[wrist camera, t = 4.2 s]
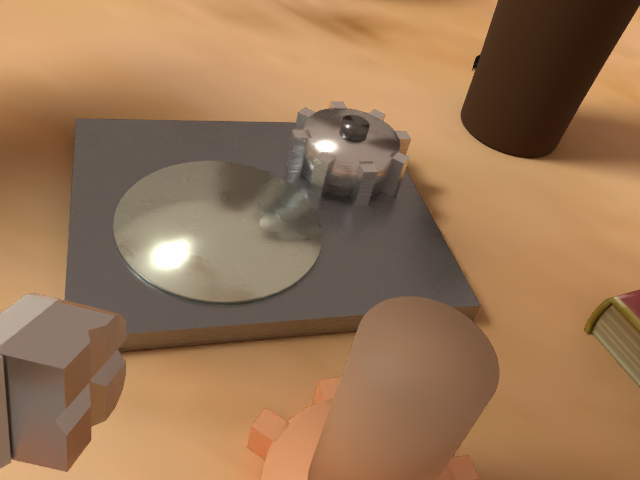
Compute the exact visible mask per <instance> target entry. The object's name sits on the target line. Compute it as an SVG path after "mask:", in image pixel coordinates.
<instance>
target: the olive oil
mask: <svg viewBox="0 0 640 480" xmlns="http://www.w3.org/2000/svg"><path fill="white" fill-rule="evenodd" d="M639 6H640V0H498V3H497V6H496V9H495V12H494V15H493V18H492V21H491V24H490V27H489V30H488V33H487V36H486V39H485V43H484V46H483V49H482V52H481V55H479V56H477V57H476V59H475V62H474V65H473V68H474V69H475V68H476V69H475V73H474V76H473V79H472V82H471V84H470V87H469V90H468V93H467V96H466V99H465V102H464V104H463V107H462V111H461V120H462V122H463V124H464V126H465V128H466V129H467V130H468V131H469V132H470V133H471V134H472V135H473V136H474V137H475V138H477V139H478V140H479V141H481V142H482V143H484V144H486V145H488V146H490V147H492V148H494V149H496V150H499V151H501V152H504V153H507V154H511V155H516V156H521V157H539V156H544V155H547V154H549V153H551V152H552V151H553V150H554V149H555V148H556V146H557V145H558V143H559V141H560V140H561V138H562V136H563V134H564V133H565V131H566V129H567V127H568V126H569V124H570V122H571V120H572V118H573V117H574V115H575V113H576V111H577V110H578V108H579V106H580V104H581V103H582V101H583V99H584V97H585V96H586V94H587V92H588V91H589V89H590V87H591V86H592V84H593V82H594V81H595V79H596V77H597V76H598V74H599V72H600V70H601V69H602V67H603V65H604V64H605V62H606V60H607V59H608V57H609V55H610V54H611V52H612V50H613V49H614V47H615V45H616V44H617V42H618V40H619V39H620V37H621V35H622V34H623V32H624V30H625V29H626V27H627V25H628V24H629V22H630V21H631V19H632V17H633V16H634V14H635V12H636V11H637V9H638V7H639ZM472 71H473V69H472Z"/></svg>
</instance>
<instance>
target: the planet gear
mask: <svg viewBox="0 0 640 480" xmlns="http://www.w3.org/2000/svg"><path fill="white" fill-rule="evenodd" d="M498 381H499V364H498V359H497V356H496V353H495V351H494V349H493V346H492V345H491V343H490V341H489V340H488V338H487V337H486V335H485V334H484V333H483V331H482V330H481V329H480V328H479V327H478V326H477V325H476V324H475V323H474V322H473V321H472V320H470V319H469V318H468V317H467V316H465V315H464V314H463V313H461V312H459V311H458V310H456V309H454V308H452V307H450V306H448V305H446V304H444V303H441V302H439V301H436V300H432V299H428V298H423V297H415V296H403V297H395V298H391V299H388V300H385V301H383V302H380V303H379V304H377V305H375V306H374V307H372V308H371V309H370V310H369V311H368V312H367V313H366V314H365V315H364V317H363V318H362V320H361V322H360V324H359V326H358V329H357V332H356V335H355V338H354V341H353V343H352V346H351V349H350V352H349V355H348V358H347V361H346V363H345V366H344V369H343V372H342V375H341V377H337V378H328V379H319V382H318V386H317V389H316V392H315V395H314V399H313V404H314V405H312V406H309V407H307V408H305V409H304V410H302V411H300V412H299V413H297V414H296V415H295V416H293V417H292V418H291V419H290V420H289V421H288V422H287V421H285V420H284V419H282V418H281V417H279V416H278V415H276V414H275V413H273V412H271V411H270V410H268V409H267V408H265V409H264V411H263V412H262V413H261V414H260V416H259V417H258V418H257V419H256V421H255V422H254V423H253V424H252V426H251V430H250V435H249V440H248V445H247V447H248V448H249V449H251V450H252V451H254V452H255V453H257V454H258V455H259V456H261V457H262V458H264V459H265V464H264V468H263V472H262V476H261V480H479V477H478V475H477V472H476V470H475V468H474V465H473V463H472V461H471V459H470V456H469V455H466V456H459V457H453V455H454V454H455V452H456V451H457V449H458V448H459V446H460V445H461V443H462V442H463V440H464V439H465V437H466V436H467V434H468V433H469V431H470V430H471V428H472V427H473V425H474V424H475V422H476V420H477V419H478V417H479V416H480V414H481V413H482V411H483V410H484V408H485V407H486V405H487V404H488V402H489V401H490V399H491V398H492V396H493V394H494V393H495V391H496V388H497V385H498ZM452 457H453V458H452Z"/></svg>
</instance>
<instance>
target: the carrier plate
mask: <svg viewBox="0 0 640 480" xmlns="http://www.w3.org/2000/svg"><path fill="white" fill-rule="evenodd" d="M384 118H385V114H384V113H381V112H379V111H377V110H375V109H374V110H372V111H371V112H370V113H369V114H368V113H365V112H362V111H358V110H353V109H347V108H346V106H345V104H344V102H332V101H331V103H330V108H329V109H324V110H321V111H318V112H314V111H312V110H310V109H308V108H306V107H305V108H304V109H302V110H301V111H299V112H298V115H297V121H296V123H288V122H235V121H181V120H127V119H76V127H75V143H74V159H73V175H72V191H71V207H70V224H69V240H68V256H67V272H66V288H65V300H66V301H70V302H74V303H78V304H82V305H86V306H90V307H94V308H98V309H102V310H106V311H110V312H114V313H118V314H122V316H123V317H124V318H125V320H126V340H125V341H124V342H123V343H122V344H121V346H120V347H119V348H118V351H119V352H122V351H134V350H145V349H157V348H168V347H180V346H191V345H202V344H214V343H225V342H237V341H248V340H260V339H271V338H282V337H294V336H305V335H317V334H328V333H340V332H351V331H357V329H358V326H359V324H360V322H361V320H362V318H363V317H364V315H365V314H366V313H367V312H368V311H369V310H370V309H371V308H372V307H374V306H375V305H377V304H379V303H380V302H383V301H385V300H388V299H391V298H395V297H403V296H415V297H423V298H428V299H432V300H436V301H439V302H441V303H444V304H446V305H448V306H450V307H452V308H454V309H456V310H458V311H459V312H461V313H463V314H464V315H465V316H467V317H468V318H469V319H470V320H473V318H474V317H475V315H476V313H477V311H478V309H479V307H480V304H479V302H478V300H477V298H476V296H475V295H474V293H473V291H472V289H471V287H470V285H469V284H468V282H467V280H466V278H465V276H464V274H463V273H462V271H461V269H460V267H459V265H458V263H457V262H456V260H455V258H454V256H453V254H452V252H451V251H450V249H449V247H448V245H447V243H446V241H445V240H444V238H443V236H442V234H441V232H440V230H439V229H438V227H437V225H436V223H435V221H434V220H433V218H432V216H431V214H430V212H429V210H428V209H427V207H426V205H425V203H424V201H423V199H422V198H421V196H420V194H419V192H418V190H417V188H416V187H415V185H414V183H413V181H412V179H411V177H410V176H409V174H408V172H407V170H406V167H407V164H408V162H409V159H410V157H408V156H406V153H407V150H408V147H409V144H410V141H411V138H410V137H409V135H408V133H407V131H394V130H393V128H392V127H390V126H389V125H388V124H387V123H385V122H384Z"/></svg>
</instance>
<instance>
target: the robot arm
mask: <svg viewBox="0 0 640 480" xmlns="http://www.w3.org/2000/svg"><path fill="white" fill-rule="evenodd" d="M125 340H126V320H125V318H124V317H123V316H122V314H118V313H114V312H110V311H106V310H102V309H98V308H94V307H90V306H86V305H82V304H78V303H74V302H70V301H66V300H61V299H58V298H54V297H49V296H45V295H40V294H36V293H33V294H26V295H24V296H23V297H22V298H20V299H19V300H18V301H16V302H15V303H14V304H12V305H11V306H10V307H9V308H7V309H6V310H5V311H3V312H2V313H1V314H0V468H2V467H4V466H6V465H8V464H9V463H11V459H12V460H17V461H21V462H26V463H30V464H34V465H39V466H43V467H48V468H52V469H57V470H61V471H65V472H67V471H68V470H69V469H70V468H71V466H72V465H73V464H74V462H75V461H76V460H77V458H78V457H79V456H80V454H81V453H82V452H83V450H84V449H85V448H86V446H87V445H88V444H89V442H90V441H91V427H92V426H94V425H96V424H98V423H101V422H103V421H105V420H107V418H108V417H109V415H110V414H111V412H112V411H113V410H114V408H115V407H116V404H117V402H118V400H119V397H120V395H121V392H122V390H123V385H124V380H125V375H126V362H125V360H124V358H123V357H122V355H121V354H120V352H119V351H118V348H119V347H120V346H121V344H122V343H123V342H124V341H125Z"/></svg>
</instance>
